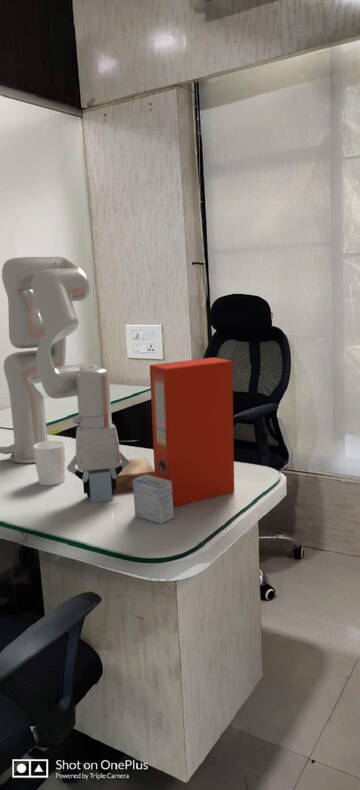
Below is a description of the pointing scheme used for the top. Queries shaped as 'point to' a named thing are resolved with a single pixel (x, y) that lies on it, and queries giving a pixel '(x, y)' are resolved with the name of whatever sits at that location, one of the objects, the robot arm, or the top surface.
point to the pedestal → (133, 473)
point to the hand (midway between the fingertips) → (100, 493)
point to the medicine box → (153, 498)
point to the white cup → (50, 462)
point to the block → (100, 485)
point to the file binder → (193, 427)
